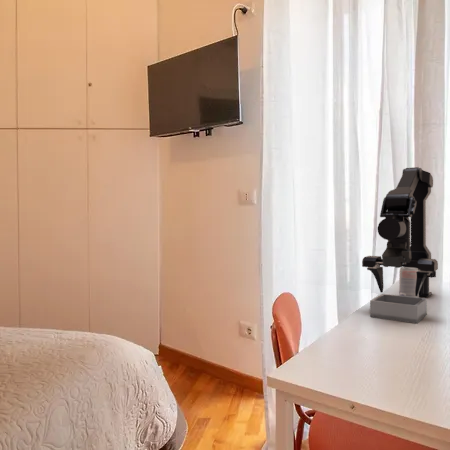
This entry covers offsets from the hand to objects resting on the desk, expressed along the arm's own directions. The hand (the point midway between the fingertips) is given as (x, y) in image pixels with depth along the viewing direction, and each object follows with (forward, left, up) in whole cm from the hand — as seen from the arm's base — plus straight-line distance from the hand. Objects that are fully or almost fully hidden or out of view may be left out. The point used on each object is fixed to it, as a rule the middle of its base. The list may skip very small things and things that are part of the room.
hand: (398, 294), depth 113 cm
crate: (0, 0, -6) cm, 6 cm away
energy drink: (-12, 0, -6) cm, 14 cm away
